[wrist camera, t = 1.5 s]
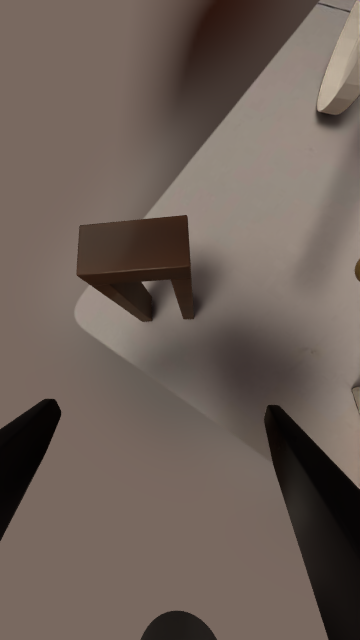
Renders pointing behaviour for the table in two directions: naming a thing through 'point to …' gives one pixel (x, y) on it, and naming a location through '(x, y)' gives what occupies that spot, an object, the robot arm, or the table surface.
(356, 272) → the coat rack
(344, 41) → the desk lamp
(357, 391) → the ink box
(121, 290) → the brown wooden arch
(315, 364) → the table surface
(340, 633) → the robot arm
